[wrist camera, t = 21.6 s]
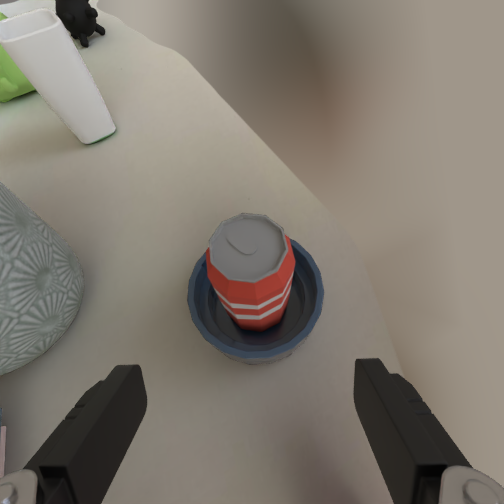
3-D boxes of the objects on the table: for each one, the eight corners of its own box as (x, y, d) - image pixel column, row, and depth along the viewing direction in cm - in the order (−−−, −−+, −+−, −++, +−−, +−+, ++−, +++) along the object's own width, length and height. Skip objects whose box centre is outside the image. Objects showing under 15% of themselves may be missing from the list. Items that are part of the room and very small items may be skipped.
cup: (83, 153, 42) (-1, 44, 29) (70, 131, 45) (-12, 23, 32) (125, 134, 43) (63, 22, 30) (110, 114, 46) (48, 5, 34)
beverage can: (255, 265, 29) (246, 192, 19) (299, 303, 27) (316, 244, 16) (215, 302, 28) (181, 245, 17) (257, 346, 25) (248, 312, 15)
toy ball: (116, 8, 62) (102, 11, 54) (101, 52, 67) (87, 61, 59) (65, -33, 57) (41, -37, 48) (54, 18, 62) (30, 23, 53)
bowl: (322, 265, 29) (331, 243, 25) (303, 381, 24) (310, 378, 20) (221, 244, 32) (214, 220, 27) (183, 345, 26) (165, 335, 22)
